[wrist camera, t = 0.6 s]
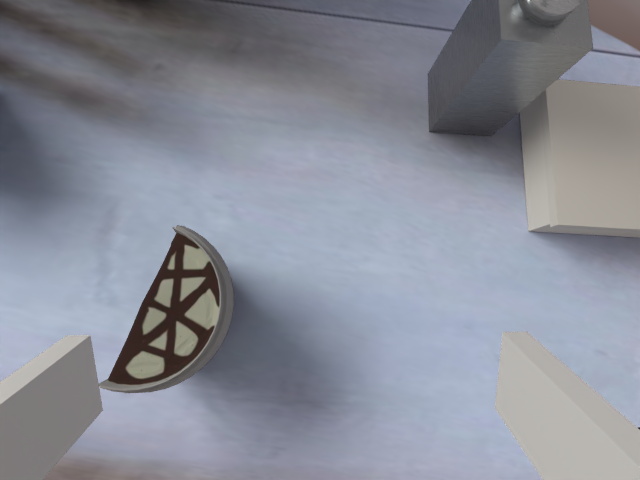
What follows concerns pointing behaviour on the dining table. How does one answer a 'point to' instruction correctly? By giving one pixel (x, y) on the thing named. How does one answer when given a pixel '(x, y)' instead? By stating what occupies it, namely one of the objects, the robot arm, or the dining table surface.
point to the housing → (503, 61)
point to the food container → (177, 319)
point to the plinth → (583, 159)
